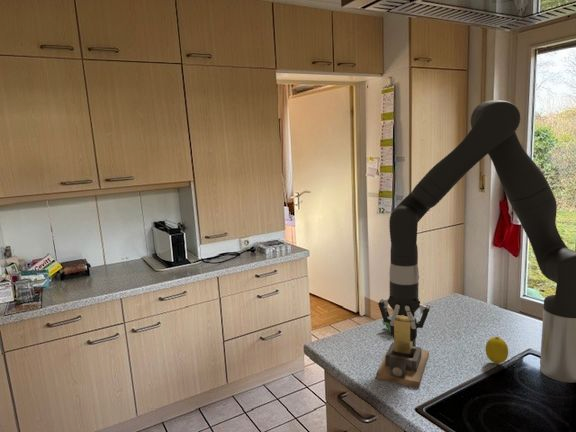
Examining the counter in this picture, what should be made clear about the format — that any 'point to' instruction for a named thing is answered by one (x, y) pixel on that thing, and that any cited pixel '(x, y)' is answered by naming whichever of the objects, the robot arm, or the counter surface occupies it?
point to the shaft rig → (403, 366)
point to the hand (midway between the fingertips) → (403, 338)
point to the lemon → (496, 350)
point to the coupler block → (402, 335)
